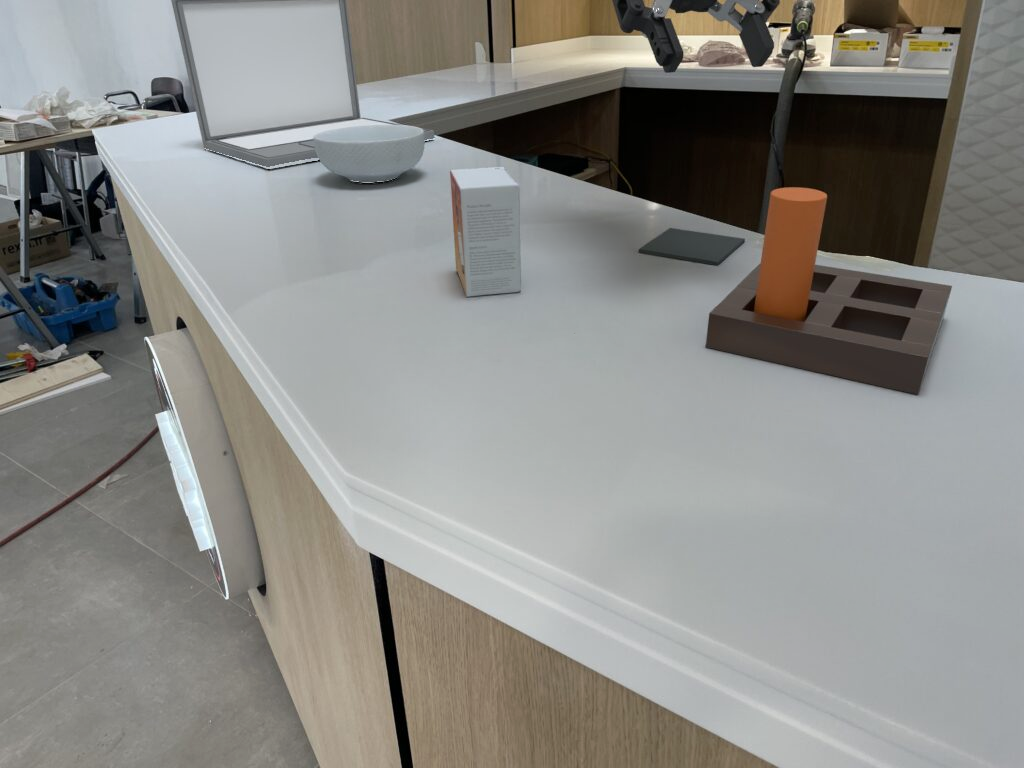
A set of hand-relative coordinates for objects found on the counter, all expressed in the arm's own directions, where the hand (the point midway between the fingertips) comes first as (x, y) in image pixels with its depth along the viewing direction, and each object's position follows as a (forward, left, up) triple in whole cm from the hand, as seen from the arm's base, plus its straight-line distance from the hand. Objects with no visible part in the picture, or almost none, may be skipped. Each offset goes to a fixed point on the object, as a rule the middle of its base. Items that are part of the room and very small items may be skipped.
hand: (720, 63), depth 60 cm
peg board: (+4, +13, -20) cm, 24 cm away
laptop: (-38, -90, -20) cm, 100 cm away
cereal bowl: (-21, -61, -20) cm, 68 cm away
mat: (-12, -5, -20) cm, 24 cm away
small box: (+8, -19, -20) cm, 29 cm away
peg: (+7, +9, -20) cm, 23 cm away
